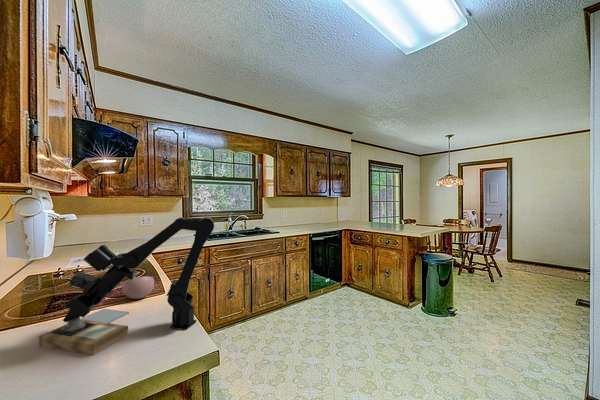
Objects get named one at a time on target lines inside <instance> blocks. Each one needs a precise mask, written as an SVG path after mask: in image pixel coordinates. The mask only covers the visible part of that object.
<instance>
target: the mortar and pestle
mask: <svg viewBox="0 0 600 400" xmlns="http://www.w3.org/2000/svg"><path fill="white" fill-rule="evenodd" d="M140 273H141V272H140V271H137V272H135V277H134V278H133V279H132V280H130V279H129V278H128V279H127V280H124V282H123V281H122V291H123V293H124V295H125V296H126V297H128V298H129V299H133V300H138V299H143V298H145V297H147V296H148V295H149V294H150V293H151V292H152V291H153V289H154V286H155V279H154V277H153V276H146V275H145V276H138V275H140Z"/></svg>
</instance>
